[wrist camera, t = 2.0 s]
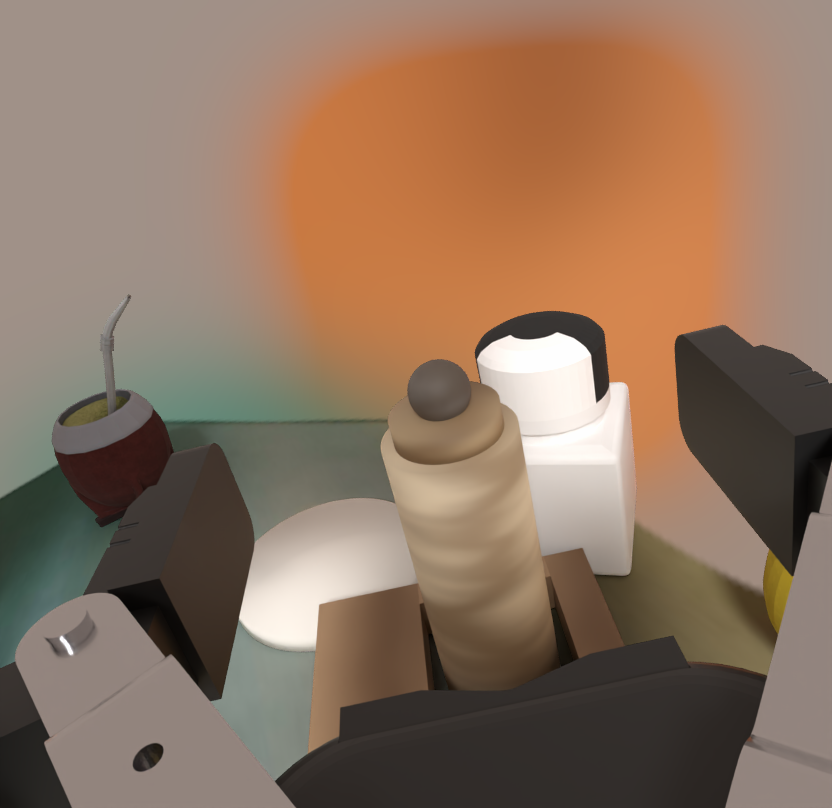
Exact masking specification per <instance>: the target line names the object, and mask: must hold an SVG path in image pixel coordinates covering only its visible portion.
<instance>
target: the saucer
mask: <svg viewBox="0 0 832 808" xmlns="http://www.w3.org/2000/svg"><path fill="white" fill-rule="evenodd" d="M417 583H418V580H417V577H416V573H415V569H414V566H413V562H412V559H411V555H410V552H409V548H408V545H407V541H406V538H405V534H404V531H403V527H402V524H401V520H400V517H399V513H398V510H397V506H396V503H393V502H389V501H386V500H380V499H372V498H352V499H343V500H337V501H332V502H328V503H324V504H320V505H318V506H315V507H312V508H309V509H306V510H304V511H302V512H299V513H297V514H295V515H293V516H291V517H289V518H287V519H286V520H284V521H282V522H281V523H279V524H277V525H276V526H275V527H273V528H272V529H270V530H269V531H268V532H266V533H265V534H264V535H263V536H262V537H260V538H259V539H258V540H257V541H256V542H255V543H254V552H253V556H252V561H251V565H250V570H249V574H248V579H247V584H246V588H245V593H244V597H243V602H242V606H241V611H240V616H239V620H240V622H241V624H242V626H243V628H244V629H245V630H246V632H247V633H248V634H249V635H250V636H251V637H253V638H254V639H255V640H256V641H258V642H260V643H262V644H264V645H266V646H269V647H271V648H274V649H278V650H284V651H290V652H313V651H316V639H317V626H318V612H319V604H324V603H328V602H333V601H337V600H342V599H347V598H351V597H356V596H361V595H365V594H370V593H375V592H379V591H384V590H389V589H393V588H398V587H403V586H407V585H412V584H417Z"/></svg>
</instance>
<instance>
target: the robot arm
mask: <svg viewBox="0 0 832 808" xmlns="http://www.w3.org/2000/svg"><path fill="white" fill-rule="evenodd" d="M675 363H676V378H677V395H678V410H679V421H680V426H681V430H682V433H683V436H684V439H685V442H686V444H687V446H688V448H689V449H690V451H691V452H692V454H693V455H694V456H695V457H696V458H697V460H698V461H699V462H700V463H701V465H702V466H703V467H704V468H705V470H706V471H707V472H708V473H709V475H710V476H711V477H712V478H713V480H714V481H715V482H716V483H717V485H718V486H719V487H720V488H721V489H722V491H723V492H724V493H725V494H726V495H727V497H728V498H729V499H730V501H731V502H732V503H733V504H734V506H735V507H736V508H737V509H738V511H739V512H740V513H741V514H742V516H743V517H744V518H745V519H746V521H747V522H748V523H749V524H750V525H751V527H752V528H753V529H754V530H755V532H756V533H757V534H758V535H759V537H760V538H761V539H762V540H763V542H764V543H765V544H766V545H767V547H768V548H769V549H770V550H771V552H772V553H773V554H774V555H775V557H776V558H777V559H778V560H779V561H780V563H781V564H782V565H783V566H784V568H785V569H786V570H787V571H788V573H789V574H790V575H791V576H793V580H792V584H791V588H790V592H789V595H788V599H787V603H786V607H785V611H784V615H783V618H782V622H781V626H780V630H779V634H778V638H777V641H776V645H775V649H774V653H773V657H772V661H771V664H770V668H769V672H768V676H766V675H763V674H760V673H756V672H753V671H750V670H746V669H743V668H738V667H733V666H728V665H723V664H715V663H706V662H687V661H686V659H685V657H684V655H683V653H682V652H681V650H680V648H679V646H678V644H677V642H676V640H675V638H674V636H669V637H665V638H660V639H655V640H651V641H646V642H641V643H637V644H632V645H627V646H623V647H618V648H614V649H609V650H604V651H600V652H595V653H590V654H588V655H586V656H584V657H582V658H579V659H577V660H575V661H573V662H571V663H568V664H566V665H564V666H562V667H560V668H558V669H555V670H553V671H551V672H549V673H547V674H545V675H542V676H540V677H538V678H536V679H534V680H532V681H529V682H527V683H525V684H523V685H521V686H518V687H516V688H513V689H509V690H502V691H472V690H419V691H414V692H410V693H405V694H401V695H396V696H391V697H387V698H382V699H377V700H373V701H368V702H364V703H359V704H354V705H350V706H345V707H340V728H339V736H338V737H336V738H334V739H332V740H330V741H328V742H326V743H325V744H323V745H321V746H320V747H318V748H316V749H315V750H313V751H311V752H310V753H308V754H307V755H306V756H304V757H303V758H302V759H300V760H299V761H297V762H296V763H295V764H293V765H292V766H291V767H290V768H289V769H288V770H287V771H286V772H284V773H283V774H282V775H281V776H280V777H279V778H278V779H277V780H276V781H274V780H273V779H272V778H271V776H270V775H269V774H268V773H267V771H266V770H265V769H264V768H263V766H262V765H261V764H260V763H259V762H258V760H257V759H256V758H255V757H254V755H253V754H252V753H251V752H250V750H249V749H248V748H247V747H246V745H245V744H244V743H243V742H242V740H241V739H240V738H239V737H238V735H237V734H236V733H235V732H234V731H233V729H232V728H231V727H230V726H229V724H228V723H227V722H226V721H225V719H224V718H223V717H222V716H221V714H220V713H219V712H218V711H217V709H216V708H215V707H214V706H213V704H212V703H211V702H210V701H213V700H218V699H221V698H222V693H223V689H224V684H225V680H226V675H227V670H228V666H229V661H230V657H231V652H232V648H233V643H234V638H235V634H236V629H237V625H238V620H239V616H240V611H241V606H242V602H243V597H244V593H245V588H246V584H247V579H248V574H249V570H250V565H251V561H252V556H253V552H254V531H253V525H252V521H251V518H250V515H249V512H248V510H247V507H246V505H245V503H244V500H243V498H242V495H241V493H240V491H239V488H238V486H237V483H236V481H235V478H234V476H233V474H232V471H231V469H230V466H229V464H228V462H227V459H226V457H225V455H224V453H223V451H222V449H221V448H220V446H219V445H217V444H215V443H213V444H209V445H204V446H200V447H196V448H192V449H187V450H183V451H179V452H175V453H172V454H171V456H170V458H169V460H168V462H167V464H166V466H165V468H164V470H163V473H162V475H161V477H160V479H159V481H158V483H157V485H154V486H150V487H148V488H147V489H146V490H145V491H144V492H143V493H142V494H141V495H140V496H139V497H138V498H137V499H136V500H135V501H134V502H133V503H132V504H131V505H130V506H129V507H128V508H127V510H126V512H125V514H124V516H123V518H122V520H121V522H120V524H119V526H118V529H119V530H118V531H116V532H115V534H114V536H113V538H112V540H111V542H110V547H109V548H107V549H106V551H105V553H104V555H103V557H102V559H101V561H100V563H99V565H98V567H97V569H96V571H95V573H94V575H93V577H92V579H91V581H90V583H89V585H88V587H87V588H86V590H85V592H84V594H83V596H81V597H78V598H75V599H73V600H70V601H68V602H66V603H64V604H62V605H60V606H58V607H57V608H55V609H54V610H52V611H50V612H49V613H47V614H46V615H45V616H44V617H42V618H41V619H40V620H39V621H38V622H36V623H35V624H34V625H33V626H32V627H31V628H30V629H29V631H28V632H27V633H26V634H25V635H24V637H23V638H22V640H21V641H20V643H19V645H18V647H17V650H16V653H15V662H13V663H11V664H9V665H7V666H4V667H2V668H0V808H832V383H830V384H829V383H828V380H827V379H826V378H825V377H823V376H822V375H820V374H819V373H818V372H816V371H814V372H813V371H812V368H811V367H809V366H808V365H806V364H805V363H804V362H802V361H801V360H799V359H798V358H797V357H795V356H794V355H793V354H790V353H787V352H784V351H781V350H777V349H774V348H771V347H768V346H764V345H760V346H756V347H753V346H752V345H751V344H749V343H748V342H746V341H745V340H744V339H743V338H741V337H740V336H739V335H738V334H736V333H735V332H734V331H733V330H731V329H730V328H729V327H727V326H725V325H720V326H716V327H712V328H708V329H703V330H699V331H695V332H691V333H686V334H682V335H679V336H678V337H677V339H676V341H675Z"/></svg>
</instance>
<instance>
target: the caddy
mask: <svg viewBox="0 0 832 808" xmlns="http://www.w3.org/2000/svg"><path fill="white" fill-rule="evenodd" d="M542 561H543V567H544V573H545V579H546V585H547V590H548V596H549V602H550V608H555V607H556V610H557V613H558V616H559V619H560V622H561V625H562V628H563V631H564V634H565V637H566V640H567V643H568V645H569V648H570V651H571V654H572V657H573V660H574V661H575V660H577V659H579V658H582V657H584V656H586V655H588V654H590V653H595V652H600V651H604V650H609V649H614V648H618V647H623V646H625V645H624V643H623V641H622V638H621V636H620V634H619V631H618V629H617V627H616V624H615V622H614V620H613V618H612V615H611V613H610V611H609V608H608V606H607V604H606V601H605V599H604V597H603V594H602V592H601V590H600V587H599V585H598V583H597V580H596V578H595V576H594V573H593V571H592V569H591V567H590V564H589V562H588V560H587V557H586V555H585V553H584V550H583V548H579V549H575V550H570V551H565V552H561V553H556V554H551V555H547V556H542ZM428 634H432V629H431V626H430V622H429V619H428V615H427V612H426V608H425V605H424V601H423V598H422V594H421V591H420V587H419V584H418V583H417V584H412V585H407V586H403V587H398V588H393V589H389V590H384V591H379V592H375V593H370V594H365V595H361V596H356V597H351V598H347V599H342V600H337V601H333V602H328V603H324V604H319V612H318V626H317V639H316V652H315V665H314V678H313V692H312V705H311V718H310V731H309V745H308V753H310V752H311V751H313V750H315V749H316V748H318V747H320V746H321V745H323V744H325V743H326V742H328V741H330V740H332V739H334V738H336V737H338V736H339V728H340V707H345V706H350V705H354V704H359V703H364V702H368V701H373V700H377V699H382V698H387V697H391V696H396V695H401V694H405V693H410V692H414V691H419V690H434V681H433V672H432V663H431V654H430V645H429V636H428Z"/></svg>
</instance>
